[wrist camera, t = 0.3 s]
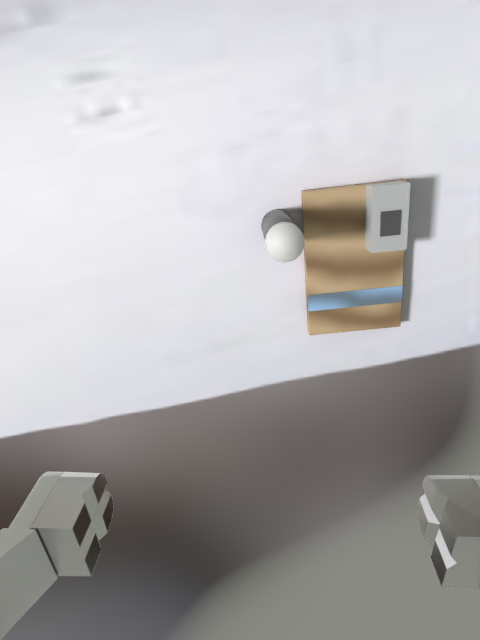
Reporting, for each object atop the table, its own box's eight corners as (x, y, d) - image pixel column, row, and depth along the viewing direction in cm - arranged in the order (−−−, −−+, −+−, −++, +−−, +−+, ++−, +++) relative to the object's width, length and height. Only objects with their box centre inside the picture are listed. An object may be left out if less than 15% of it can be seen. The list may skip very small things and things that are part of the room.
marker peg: (259, 210, 52) (264, 225, 42) (291, 207, 52) (303, 221, 42) (262, 242, 54) (267, 264, 44) (293, 238, 54) (305, 260, 44)
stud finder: (365, 184, 50) (373, 186, 47) (401, 180, 49) (411, 182, 47) (365, 248, 53) (371, 253, 50) (398, 244, 53) (407, 249, 50)
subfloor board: (301, 190, 51) (303, 192, 50) (403, 179, 51) (408, 180, 49) (308, 330, 59) (309, 335, 58) (396, 322, 59) (400, 326, 57)
